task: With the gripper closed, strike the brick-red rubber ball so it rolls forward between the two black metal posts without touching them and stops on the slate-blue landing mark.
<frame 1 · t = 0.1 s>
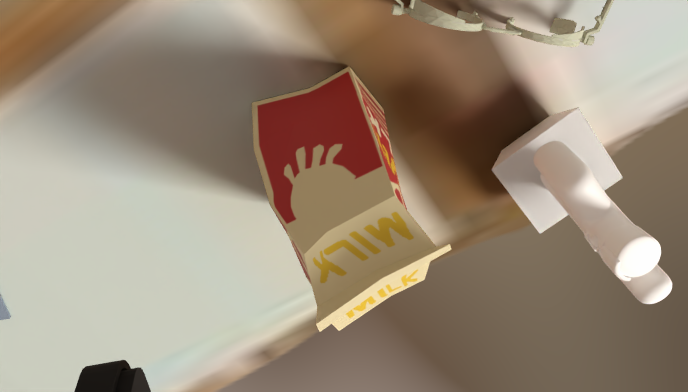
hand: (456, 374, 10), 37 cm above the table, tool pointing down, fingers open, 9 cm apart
figurine: (538, 151, 51), on the table
milk carton: (328, 136, 48), on the table
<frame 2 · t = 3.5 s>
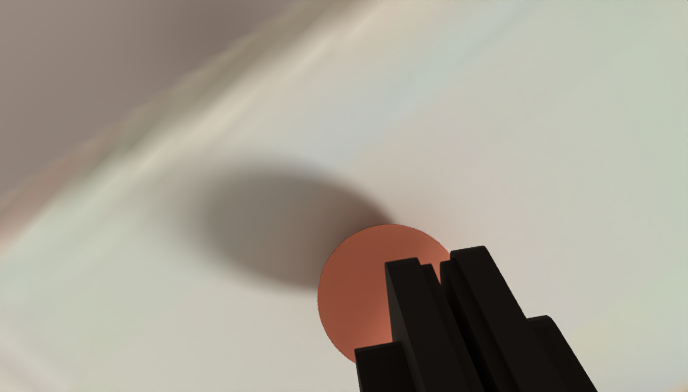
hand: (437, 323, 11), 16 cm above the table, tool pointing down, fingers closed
ball: (390, 297, 27), on the table
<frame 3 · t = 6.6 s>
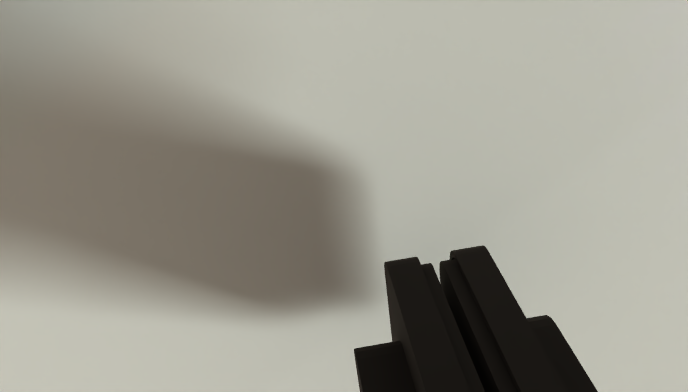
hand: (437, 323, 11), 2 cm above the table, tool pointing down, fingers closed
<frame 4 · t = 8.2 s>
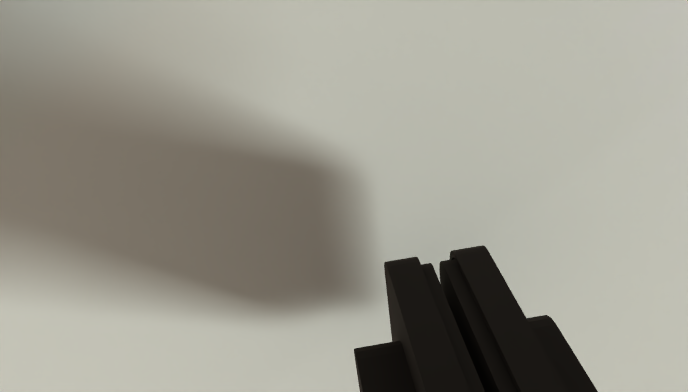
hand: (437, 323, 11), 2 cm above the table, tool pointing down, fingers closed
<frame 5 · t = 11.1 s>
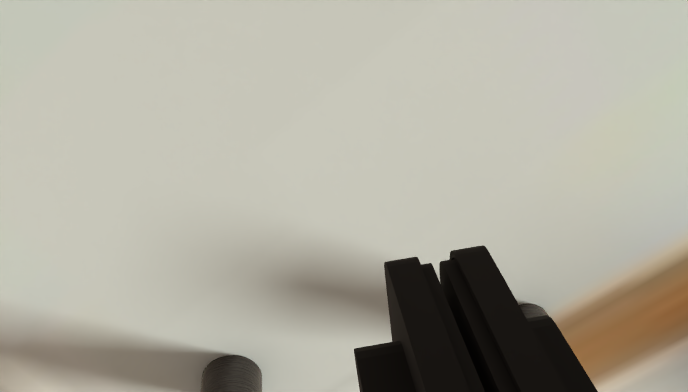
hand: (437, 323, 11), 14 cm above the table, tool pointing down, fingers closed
post 1: (232, 378, 29), on the table
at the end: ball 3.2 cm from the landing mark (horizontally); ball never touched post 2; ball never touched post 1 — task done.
